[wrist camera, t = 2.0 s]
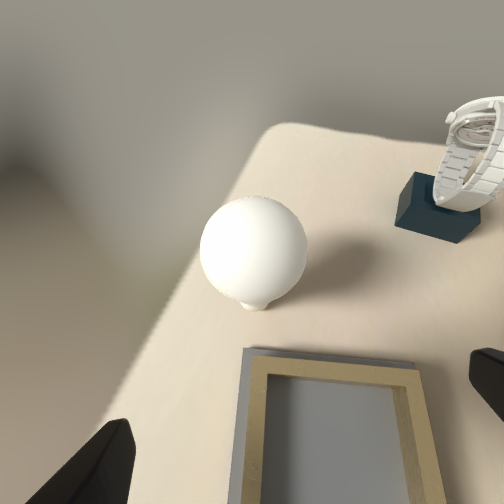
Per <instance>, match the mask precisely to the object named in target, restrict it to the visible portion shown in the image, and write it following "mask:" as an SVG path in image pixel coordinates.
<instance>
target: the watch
mask: <svg viewBox="0 0 504 504" xmlns="http://www.w3.org/2000/svg"><path fill="white" fill-rule="evenodd" d="M445 122H446V123H449V124H451V126H450V129H449V134H448V138H447V141H446V144H447V145H448V147H447V149H446V151H447V152H445V153H444V155H443V158H442V160H441V163H440V164H439V167H438V170H437V173H436V176H431V175H427V174H423V173H419V172H414V174H413V175H412V177H411V178H410V180H409V181H408V183H407V184H406V186H405V187H404V189H403V191H402V192H401V194H400V197H399V203H398V209H397V214H396V220H395V226H396V227H400V228H403V229H407V230H411V231H414V232H418V233H421V234H425V235H428V236H432V237H435V238H439V239H442V240H446V241H449V242H453V243H456V244H457V243H458V242H459V241H460V240H461V239H463V238H464V237H465V236H466V235H467V234H468V233H469V232H471V231H472V230H473V229H474V228H475V227H476V226H478V225H479V224H480V207H482V206H484V205H486V204H487V203H489V202H491V201H492V200H494V199H496V197H495V196H496V195H497V194H498V193H499V192H500V190H502V189H503V188H504V153H503V152H504V96H503V97H502V96H501V97H500V96H499V97H487V98H482V99H478V100H475V101H471V102H469V103H467V104H464V105H463V106H461V107H460V108H458V109H457V110H456V111H455V112H450V113H449V115H448V116H447V118H446V121H445ZM480 150H481V152H483V153H484V152H486V153H485V155H484V157H483V158H484V159H487V160H484V159H483V160H482V161H481V163H480V164H479V166H478V168H477V169H476V173H473V175H472V176H471V177H470V179H469V180H468V181H467V182H466V183H463V181H464V179H463V178H465V176H466V174H467V172H468V170H469V169H468V168H469V167H470V166H471V164H472V162H473V161H474V159H475V158H473V157H476V156H477V154H478V153H479V151H480ZM498 151H500V152H498ZM450 152H451V153H450ZM450 156H452V157H450ZM469 156H470V157H469ZM454 157H457V158H454ZM459 158H461V159H459ZM463 159H466V160H463ZM489 160H490V161H489ZM442 162H443V163H442ZM491 166H492V167H491ZM446 167H447V168H446ZM463 167H465V168H463ZM495 167H497V168H495ZM450 168H451V169H450ZM500 168H501V169H500ZM455 169H456V170H455ZM459 170H460V171H459Z"/></svg>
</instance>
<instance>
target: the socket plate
mask: <svg viewBox="0 0 504 504" xmlns="http://www.w3.org/2000/svg"><path fill="white" fill-rule="evenodd" d="M227 504H447V502H446V497H445V492H444V488H443V483H442V478H441V473H440V468H439V464H438V459H437V454H436V449H435V445H434V440H433V435H432V430H431V425H430V421H429V416H428V411H427V406H426V401H425V397H424V392H423V387H422V382H421V378H420V373H419V370H415V367H414V363H408V362H397V361H386V360H375V359H364V358H353V357H342V356H330V355H319V354H308V353H297V352H286V351H275V350H264V349H253V348H243V355H242V365H241V375H240V385H239V394H238V404H237V414H236V424H235V434H234V443H233V453H232V463H231V473H230V482H229V492H228V502H227Z"/></svg>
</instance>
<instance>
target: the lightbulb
mask: <svg viewBox="0 0 504 504" xmlns="http://www.w3.org/2000/svg"><path fill="white" fill-rule="evenodd" d="M307 257H308V244H307V237H306V235H305V232H304V229H303V227H302V224H301V223H300V221H299V220H298V218H297V217H296V216H295V215H294V214H293V213H292V212H291V211H290V210H289V209H288V208H287V207H286V206H284V205H283V204H281V203H279V202H277V201H275V200H272V199H269V198H265V197H259V196H248V197H242V198H239V199H236V200H233V201H231V202H229V203H227V204H225V205H224V206H222V207H221V208H220V209H218V210H217V211H216V212H215V214H214V215H213V216H212V217H211V218H210V219H209V221H208V223H207V225H206V226H205V229H204V232H203V235H202V238H201V244H200V258H201V263H202V266H203V269H204V271H205V274H206V276H207V278H208V279H209V281H210V282H211V284H212V285H213V286H214V287H215V288H216V289H217V290H218V291H220V292H221V293H222V294H223V295H225V296H227V297H228V298H230V299H232V300H235V301H237V302H240V303H241V304H242V306H243V307H244V308H245V309H247V310H249V311H253V312H257V311H261V310H263V309H264V308H266V307H267V305H268V304H269V302H271V301H273V300H276V299H278V298H280V297H281V296H283V295H284V294H286V293H287V292H288V291H289V290H291V289H292V288H293V286H294V285H295V284H296V283H297V282H298V281H299V279H300V278H301V276H302V274H303V272H304V269H305V266H306V263H307Z"/></svg>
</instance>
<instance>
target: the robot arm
mask: <svg viewBox="0 0 504 504" xmlns="http://www.w3.org/2000/svg"><path fill="white" fill-rule="evenodd" d="M469 380H470V382H471V384H472V385H473V387H474V388H475V389H476V390H477V392H478V393H479V394H480V395H481V396H482V397H483V399H484V400H485V401H486V402H487V403H488V404H489V406H490V407H491V408H492V409H493V410H494V411H495V413H496V414H497V415H498V416H499V417H500V418H501V420H502V421H503V422H504V352H503V351H499V350H496V349H493V348H482V349H477V350H474V351H472V353H471V355H470V366H469ZM135 456H136V445H135V441H134V437H133V434H132V431H131V427H130V424H129V422H128V420H127V419H125V418H122V419H117V420H112V421H109V422H107V423H106V424H105V425H104V426H103V427H102V428H101V429H100V430H99V431H98V432H97V433H96V434H95V435H94V436H93V437H92V438H91V439H90V440H89V441H88V442H87V443H86V444H85V445H84V446H83V447H82V448H81V449H80V450H79V451H78V452H77V453H76V454H75V455H74V456H73V457H72V458H71V459H70V460H69V461H68V462H67V463H66V464H65V465H64V466H63V467H62V468H61V469H60V470H58V471H57V473H55V474H54V476H52V477H51V479H49V480H48V481H47V482H46V483H45V484H44V485H43V486H42V487H41V488H40V489H39V490H38V491H37V492H36V493H35V494H34V495H33V496H32V497H31V498H30V499H29V500H28V501H27V502H26V503H25V504H127V501H128V495H129V490H130V484H131V478H132V473H133V467H134V461H135Z"/></svg>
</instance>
